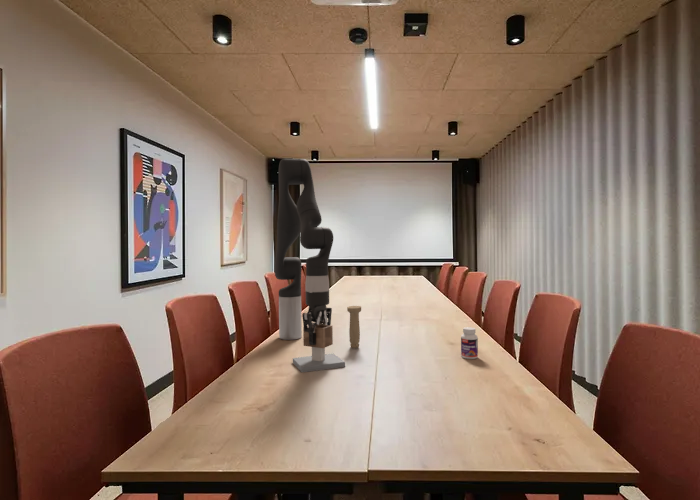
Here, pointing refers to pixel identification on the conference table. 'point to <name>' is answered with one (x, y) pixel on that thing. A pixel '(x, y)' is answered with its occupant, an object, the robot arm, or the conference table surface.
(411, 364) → the conference table surface
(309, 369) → the base
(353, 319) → the handle
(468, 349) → the pill bottle
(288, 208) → the robot arm
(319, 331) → the open cubby box
